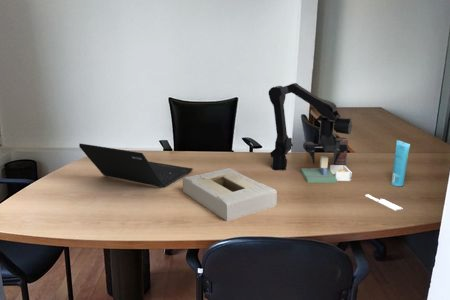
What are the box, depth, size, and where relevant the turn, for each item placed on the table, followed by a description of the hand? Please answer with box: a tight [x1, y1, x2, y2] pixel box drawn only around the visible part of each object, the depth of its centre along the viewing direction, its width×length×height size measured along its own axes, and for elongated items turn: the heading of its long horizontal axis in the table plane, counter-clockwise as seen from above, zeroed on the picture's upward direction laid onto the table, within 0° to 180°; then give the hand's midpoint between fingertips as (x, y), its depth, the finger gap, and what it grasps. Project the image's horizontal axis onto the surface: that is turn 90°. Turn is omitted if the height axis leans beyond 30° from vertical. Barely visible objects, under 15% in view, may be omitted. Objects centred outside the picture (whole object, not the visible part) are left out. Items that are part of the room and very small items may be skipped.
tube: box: [391, 139, 411, 187], centre depth 165 cm, size 7×5×19 cm, turn 26°
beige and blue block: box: [319, 155, 329, 175], centre depth 175 cm, size 3×7×8 cm, turn 1°
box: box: [182, 167, 278, 222], centre depth 151 cm, size 23×8×32 cm
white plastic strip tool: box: [364, 193, 404, 211], centre depth 150 cm, size 5×15×1 cm, turn 25°
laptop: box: [78, 143, 194, 188], centre depth 170 cm, size 33×38×19 cm
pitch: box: [300, 167, 338, 184], centre depth 176 cm, size 13×15×2 cm
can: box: [334, 137, 350, 166], centre depth 190 cm, size 6×6×14 cm
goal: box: [329, 164, 353, 182], centre depth 176 cm, size 7×10×4 cm
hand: (323, 164), depth 175 cm, fingers open, 9 cm apart
